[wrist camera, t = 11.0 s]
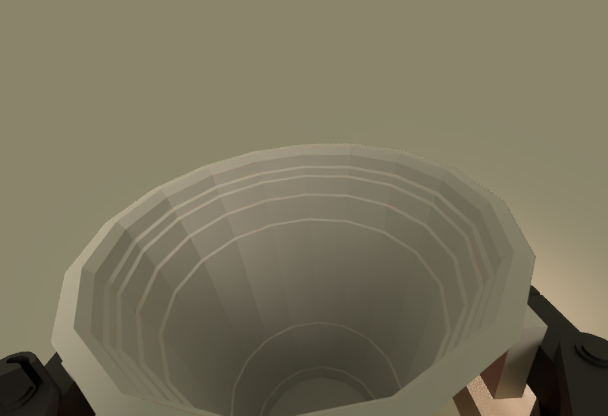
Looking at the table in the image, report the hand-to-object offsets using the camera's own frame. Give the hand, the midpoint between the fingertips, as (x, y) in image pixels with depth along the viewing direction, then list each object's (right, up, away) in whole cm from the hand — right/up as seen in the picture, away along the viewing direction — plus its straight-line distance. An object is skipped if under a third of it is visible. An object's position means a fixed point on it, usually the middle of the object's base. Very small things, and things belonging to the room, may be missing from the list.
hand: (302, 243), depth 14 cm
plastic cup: (+1, -9, 0) cm, 9 cm away
